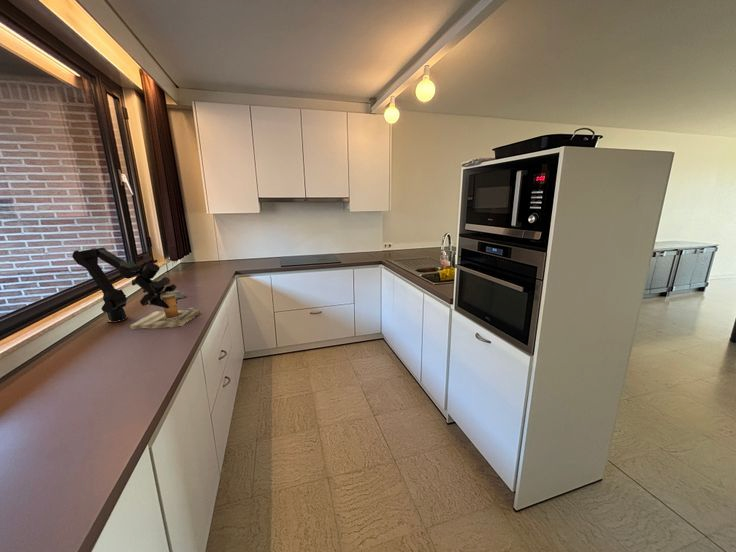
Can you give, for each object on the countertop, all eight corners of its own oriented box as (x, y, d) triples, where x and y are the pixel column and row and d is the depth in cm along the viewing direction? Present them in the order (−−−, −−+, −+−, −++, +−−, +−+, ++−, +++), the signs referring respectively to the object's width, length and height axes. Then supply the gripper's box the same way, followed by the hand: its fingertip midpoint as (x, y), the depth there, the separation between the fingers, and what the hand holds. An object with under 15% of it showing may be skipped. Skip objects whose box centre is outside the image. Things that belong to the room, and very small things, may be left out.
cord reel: (162, 319, 153) (157, 294, 149) (174, 314, 158) (169, 291, 155) (170, 321, 150) (165, 296, 147) (182, 316, 156) (178, 292, 153)
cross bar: (172, 322, 146) (171, 319, 146) (190, 310, 162) (189, 307, 162) (176, 322, 147) (175, 319, 146) (193, 310, 162) (193, 307, 162)
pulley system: (180, 293, 204) (153, 297, 194) (179, 287, 203) (152, 290, 193) (190, 304, 184) (160, 309, 174) (189, 297, 183) (159, 302, 173)
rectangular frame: (130, 329, 146) (129, 325, 145) (155, 315, 163) (154, 311, 163) (181, 326, 146) (180, 323, 146) (200, 313, 164) (199, 309, 163)
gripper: (140, 278, 140) (167, 301, 141) (169, 269, 158) (193, 289, 159) (128, 294, 143) (155, 316, 144) (158, 283, 161) (182, 303, 162)
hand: (172, 305), depth 152 cm, fingers closed on cord reel, 5 cm apart
